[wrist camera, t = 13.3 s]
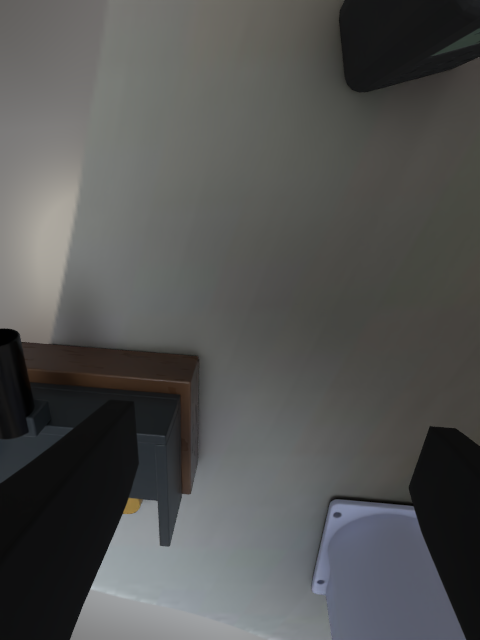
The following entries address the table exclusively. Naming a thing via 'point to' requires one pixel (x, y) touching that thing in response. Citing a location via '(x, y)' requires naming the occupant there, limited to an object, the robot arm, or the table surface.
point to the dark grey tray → (75, 406)
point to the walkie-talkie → (406, 39)
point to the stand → (126, 382)
